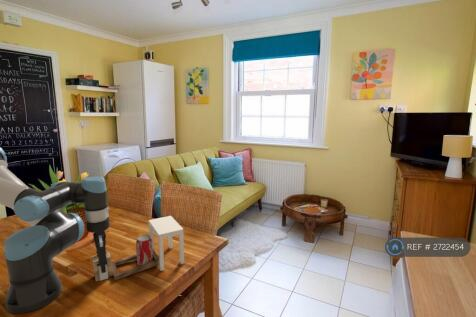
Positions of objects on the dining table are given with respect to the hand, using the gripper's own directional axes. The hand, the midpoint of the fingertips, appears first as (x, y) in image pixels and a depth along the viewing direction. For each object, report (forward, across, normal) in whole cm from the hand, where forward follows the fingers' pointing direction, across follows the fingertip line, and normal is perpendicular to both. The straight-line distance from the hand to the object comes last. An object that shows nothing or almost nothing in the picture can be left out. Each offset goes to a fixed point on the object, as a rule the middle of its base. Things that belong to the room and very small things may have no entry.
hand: (103, 275), depth 100 cm
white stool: (+1, 0, -25) cm, 25 cm away
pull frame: (0, 0, -9) cm, 9 cm away
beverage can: (+1, 0, -16) cm, 16 cm away
